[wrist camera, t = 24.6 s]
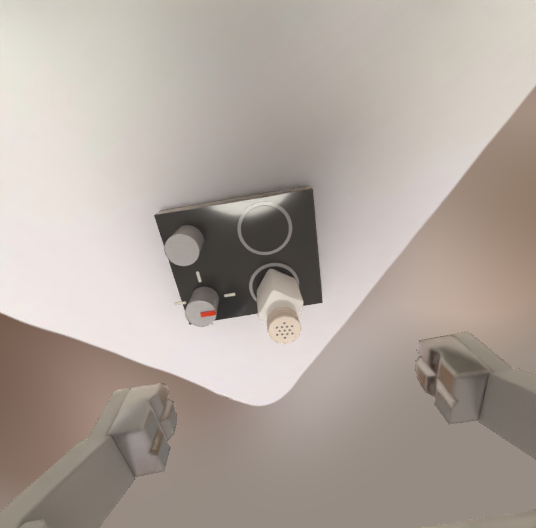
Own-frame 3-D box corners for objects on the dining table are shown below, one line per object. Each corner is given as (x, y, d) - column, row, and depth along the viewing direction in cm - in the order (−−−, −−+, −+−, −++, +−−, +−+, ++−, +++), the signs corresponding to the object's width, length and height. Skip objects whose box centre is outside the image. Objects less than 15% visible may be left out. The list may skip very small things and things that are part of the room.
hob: (187, 317, 39) (183, 329, 37) (153, 211, 33) (145, 216, 31) (318, 295, 39) (323, 305, 37) (308, 185, 33) (313, 188, 31)
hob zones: (197, 320, 37) (192, 336, 34) (165, 217, 31) (156, 225, 28) (301, 303, 37) (306, 318, 33) (288, 197, 31) (293, 203, 28)
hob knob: (194, 312, 36) (188, 330, 33) (187, 288, 35) (180, 304, 31) (221, 308, 36) (219, 325, 33) (216, 284, 35) (212, 299, 31)
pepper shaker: (254, 291, 35) (256, 339, 27) (268, 265, 34) (275, 306, 25) (282, 302, 36) (292, 352, 28) (297, 277, 35) (313, 321, 26)
